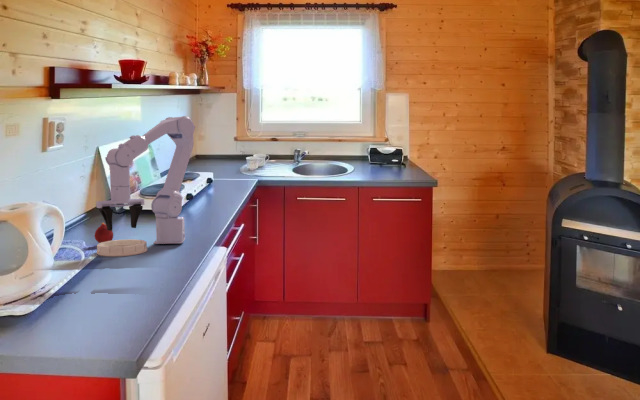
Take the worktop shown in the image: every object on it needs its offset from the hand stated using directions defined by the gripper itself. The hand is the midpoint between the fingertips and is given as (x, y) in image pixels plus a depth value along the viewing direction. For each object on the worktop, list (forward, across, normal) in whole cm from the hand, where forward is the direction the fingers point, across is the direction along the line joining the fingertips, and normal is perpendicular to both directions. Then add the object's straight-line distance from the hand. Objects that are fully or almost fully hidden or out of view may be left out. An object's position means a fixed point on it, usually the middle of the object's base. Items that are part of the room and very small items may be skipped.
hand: (121, 228), depth 155 cm
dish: (+7, 0, 0) cm, 7 cm away
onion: (+8, 0, -15) cm, 17 cm away
